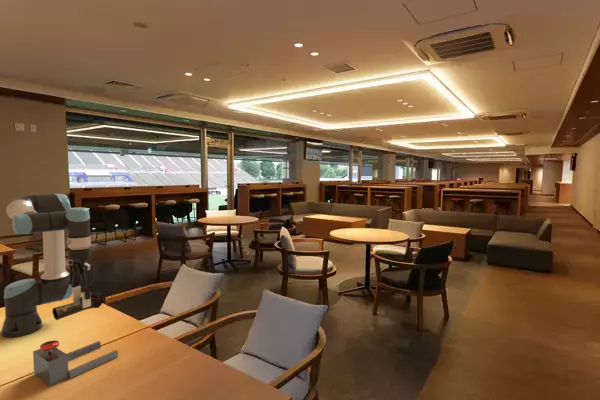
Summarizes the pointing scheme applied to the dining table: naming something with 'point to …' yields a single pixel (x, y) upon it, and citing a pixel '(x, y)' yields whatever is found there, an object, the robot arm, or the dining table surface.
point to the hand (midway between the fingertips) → (81, 304)
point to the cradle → (64, 361)
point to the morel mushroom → (78, 306)
